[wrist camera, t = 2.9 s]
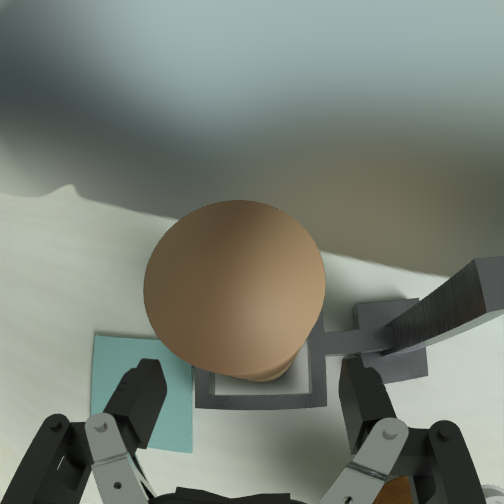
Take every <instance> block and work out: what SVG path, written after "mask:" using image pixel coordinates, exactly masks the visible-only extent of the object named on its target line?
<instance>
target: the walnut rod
mask: <svg viewBox="0 0 504 504" xmlns="http://www.w3.org/2000/svg"><path fill="white" fill-rule="evenodd" d="M325 287H326V283H325V270H324V265H323V261H322V258H321V255H320V252H319V250H318V248H317V246H316V244H315V242H314V241H313V239H312V238H311V236H310V235H309V233H308V232H307V231H306V230H305V229H304V228H303V226H302V225H301V224H299V223H298V222H297V221H296V220H295V219H294V218H292V217H291V216H289V215H288V214H286V213H285V212H283V211H281V210H279V209H277V208H275V207H272V206H269V205H266V204H263V203H259V202H254V201H245V200H233V201H224V202H218V203H214V204H210V205H207V206H205V207H202V208H200V209H197V210H195V211H193V212H191V213H190V214H188V215H186V216H185V217H183V218H182V219H181V220H179V221H178V222H177V223H175V224H174V225H173V226H172V227H171V228H170V229H169V230H168V231H167V232H166V233H165V235H164V236H163V237H162V238H161V240H160V241H159V242H158V244H157V246H156V247H155V249H154V251H153V253H152V255H151V257H150V259H149V262H148V265H147V268H146V273H145V278H144V289H143V293H144V304H145V308H146V313H147V316H148V318H149V321H150V324H151V326H152V328H153V329H154V331H155V333H156V335H157V336H158V337H159V339H160V340H161V342H162V343H163V344H164V345H165V346H166V347H167V348H168V349H169V350H170V351H171V352H172V353H173V354H175V355H176V356H177V357H179V358H180V359H182V360H183V361H185V362H187V363H189V364H191V365H193V366H195V367H198V368H201V369H203V370H207V371H211V372H215V373H219V374H223V375H227V376H232V377H236V378H240V379H245V380H250V381H255V382H270V381H273V380H276V379H278V378H279V377H281V376H282V375H283V374H284V373H285V372H286V371H287V370H288V368H289V367H290V365H291V363H292V362H293V360H294V358H295V357H296V355H297V354H298V352H299V350H300V349H301V347H302V345H303V344H304V342H305V340H306V338H307V337H308V335H309V333H310V332H311V330H312V328H313V326H314V325H315V323H316V321H317V319H318V316H319V314H320V312H321V309H322V305H323V301H324V296H325Z"/></svg>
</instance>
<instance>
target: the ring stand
mask: <svg viewBox="0 0 504 504" xmlns="http://www.w3.org/2000/svg"><path fill="white" fill-rule="evenodd" d="M502 314H504V256H500V257H487V258H475V259H473V260H472V261H471V262H470V263H469V264H467V265H466V266H465V267H464V268H463V269H461V270H460V271H459V272H458V273H456V274H455V275H454V276H453V277H451V278H450V279H449V280H447V281H446V282H445V283H444V284H442V285H441V286H440V287H438V288H437V289H436V290H434V291H433V292H432V293H430V294H429V295H428V296H426V297H425V298H424V299H422V300H421V301H419V298H413V299H403V300H393V301H383V302H372V303H360V304H356V305H355V306H354V308H353V315H354V325H355V330H351V331H339V332H326V333H324V329H323V315H322V309H321V312H320V314H319V316H318V319H317V321H316V323H315V325H314V326H313V328H312V330H311V332H310V333H309V335H308V337H307V348H308V372H309V393H301V394H281V395H215V372H211V371H207V370H203V369H201V368H198V367H196V374H195V408H203V409H225V410H277V409H299V408H313V407H325V406H327V387H326V363H325V357H328V356H339V355H350V354H357V357H361V359H362V361H363V364H364V367H365V368H368V367H373V368H374V369H375V370H376V371H377V372H378V373H379V374H380V376H381V378H382V381H383V384H387V383H393V382H399V381H404V380H409V379H414V378H419V377H424V376H428V367H427V355H426V346H429V345H432V344H435V343H437V342H440V341H442V340H445V339H448V338H450V337H453V336H455V335H458V334H460V333H462V332H465V331H467V330H470V329H472V328H474V327H476V326H479V325H481V324H483V323H485V322H488V321H490V320H492V319H494V318H496V317H498V316H500V315H502Z"/></svg>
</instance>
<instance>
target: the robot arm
mask: <svg viewBox="0 0 504 504" xmlns="http://www.w3.org/2000/svg"><path fill="white" fill-rule="evenodd" d="M166 395H167V383H166V380H165V377H164V373H163V370H162V367H161V364H160V361H159V360H158V359H149V358H142V359H141V360H140V362H139V363H138V365H137V367H136V368H131V369H130V370H128V371H127V372H126V373H125V374H124V375H123V377H122V378H121V380H120V382H119V384H118V385H117V387H116V390H115V391H114V392H113V394H112V396H111V398H110V400H109V401H108V403H107V405H106V407H105V409H104V410H103V412H102V413H97V414H94V415H92V416H91V417H90V418H88V420H87V421H86V422H69V420H68V419H67V417H66V416H64V415H62V414H53V415H51V416H49V417H47V418H46V419H45V421H44V422H43V424H42V425H41V427H40V429H39V431H38V432H37V434H36V436H35V438H34V439H33V441H32V443H31V445H30V446H29V448H28V450H27V452H26V454H25V456H24V457H23V459H22V461H21V463H20V465H19V467H18V469H17V471H16V473H15V475H14V477H13V479H12V481H11V483H10V485H9V487H8V489H7V491H6V493H5V495H4V497H3V499H2V501H1V504H79V503H80V500H81V497H82V494H83V492H84V489H85V486H86V484H87V481H88V478H89V476H90V473H91V470H92V471H93V475H94V478H95V481H96V484H97V487H98V490H99V493H100V495H101V498H102V501H103V504H306V503H304V502H301V501H297V500H292V499H290V493H279V494H257V495H252V496H246V497H240V498H227V497H223V496H220V495H217V494H213V493H210V492H207V491H204V490H197V489H189V488H182V487H177V488H176V492H175V493H170V494H164V495H161V496H157V495H156V493H155V492H154V490H153V489H152V487H151V485H150V483H149V481H148V479H147V477H146V475H145V473H144V471H143V469H142V467H141V465H140V463H139V460H138V458H137V456H136V454H135V452H136V450H137V448H141V449H146V448H147V446H148V443H149V440H150V438H151V435H152V432H153V430H154V427H155V424H156V422H157V419H158V416H159V414H160V411H161V408H162V406H163V403H164V401H165V398H166ZM339 398H340V402H341V407H342V411H343V416H344V420H345V425H346V430H347V435H348V440H349V445H350V450H351V455H353V454H356V456H355V457H354V459H353V460H352V462H351V463H349V464H348V465H347V466H346V467H345V468H344V470H343V471H342V472H341V474H340V475H339V477H338V478H337V479H336V481H335V482H334V483H333V485H332V486H331V487H330V489H329V490H328V491H327V492H326V494H325V495H324V496H323V497H322V499H321V500H320V501H319V502H318V504H372V503H373V501H374V500H375V498H376V496H377V495H378V493H379V491H380V490H381V488H382V486H383V485H384V483H385V481H386V479H387V477H388V475H398V476H408V480H409V485H410V490H411V495H412V500H413V504H487V503H486V500H485V497H484V494H483V490H482V487H481V484H480V481H479V478H478V475H477V473H476V470H475V467H474V464H473V461H472V459H471V456H470V453H469V451H468V448H467V446H466V443H465V441H464V438H463V436H462V433H461V431H460V429H459V427H458V426H457V425H456V424H455V423H453V422H451V421H447V420H442V421H438V422H436V423H434V424H433V425H432V426H431V428H430V429H417V428H410V427H407V425H406V424H405V423H404V422H403V421H401V420H399V419H397V417H396V414H395V412H394V409H393V406H392V404H391V401H390V398H389V396H388V393H387V392H386V388H385V386H384V385H383V381H382V378H381V376H380V374H379V373H378V372H377V371H376V370H375V369H374V368H373V367H368V368H365V367H364V364H363V361H362V359H361V357H353V358H344V359H343V361H342V367H341V373H340V379H339ZM63 456H64V457H63ZM62 457H63V459H62ZM61 460H62V462H61ZM60 462H61V464H60ZM59 464H60V466H59ZM58 466H59V468H58ZM57 468H58V470H57Z"/></svg>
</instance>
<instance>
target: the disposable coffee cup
mask: <svg viewBox="0 0 504 504" xmlns="http://www.w3.org/2000/svg"><path fill="white" fill-rule="evenodd" d="M481 487H482V490H483V494H484V497H485V500H486V503H487V504H504V489H502V488H500V487H499V486H494V485H482V486H481ZM372 504H413V500H412V495H411V490H410V485H409V480H408V476H403V477H399V478H397V479H394V480H392V481H390V482H388V483H387V484H385V485H384V486H382V488H381V490H380V491H379V493H378V495H377V496H376V498H375V500H374V501H373V503H372Z"/></svg>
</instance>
